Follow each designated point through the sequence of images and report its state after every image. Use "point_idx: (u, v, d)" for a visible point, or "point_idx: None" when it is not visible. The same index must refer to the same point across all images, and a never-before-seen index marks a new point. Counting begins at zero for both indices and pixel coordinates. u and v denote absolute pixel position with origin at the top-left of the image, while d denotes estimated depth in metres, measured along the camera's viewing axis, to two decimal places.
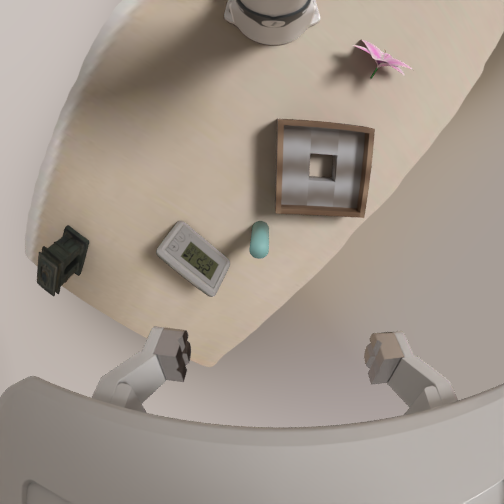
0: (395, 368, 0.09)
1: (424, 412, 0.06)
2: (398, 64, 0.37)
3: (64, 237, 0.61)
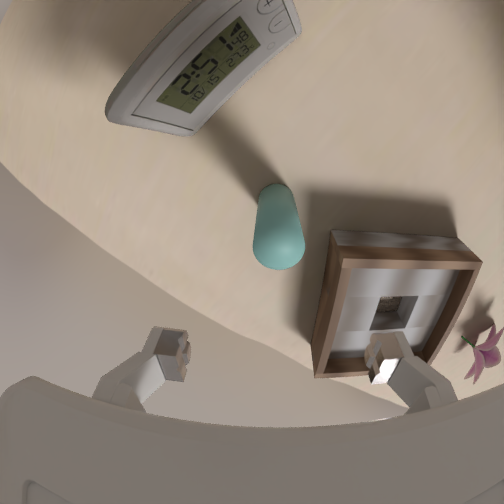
0: (396, 368, 0.09)
1: (424, 412, 0.06)
2: (475, 368, 0.33)
3: None
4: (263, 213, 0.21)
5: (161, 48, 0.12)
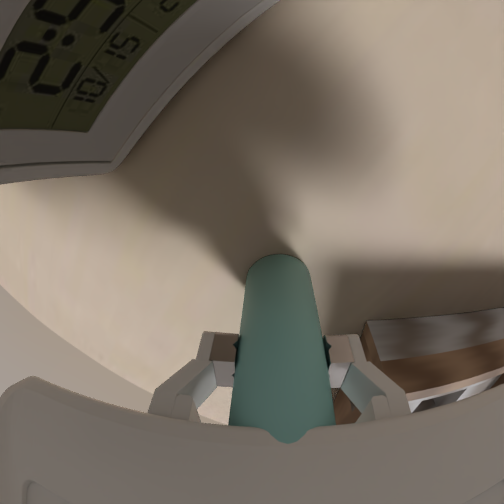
0: (347, 374, 0.10)
1: (424, 412, 0.06)
2: None
3: None
4: (249, 371, 0.09)
5: None
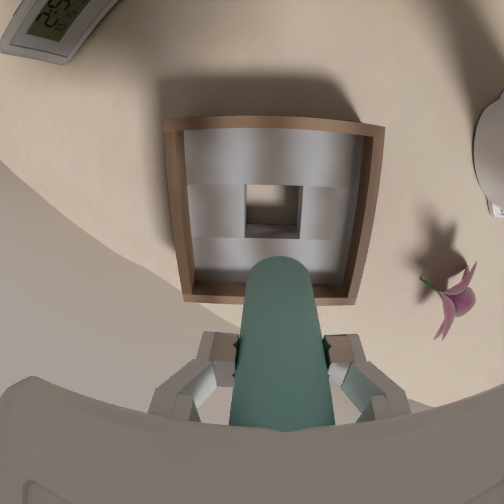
0: (346, 373, 0.10)
1: (424, 412, 0.06)
2: None
3: None
4: (250, 372, 0.09)
5: (26, 0, 0.08)
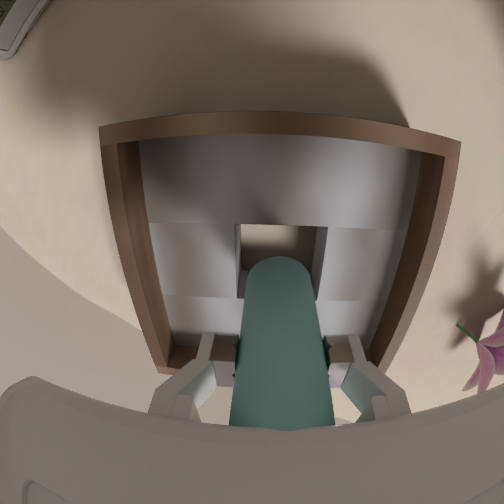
0: (346, 373, 0.10)
1: (424, 412, 0.06)
2: (480, 375, 0.20)
3: None
4: (250, 373, 0.09)
5: None
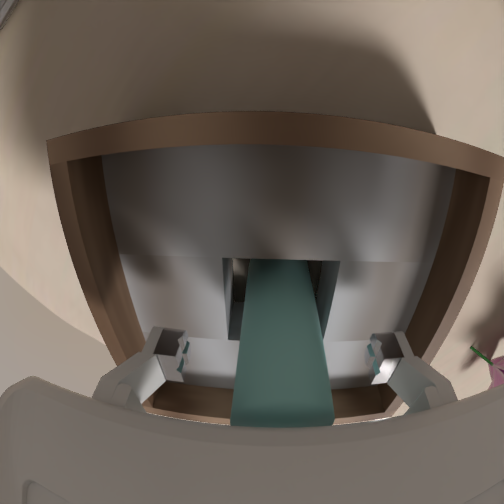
0: (395, 368, 0.09)
1: (424, 412, 0.06)
2: None
3: None
4: (253, 341, 0.10)
5: None
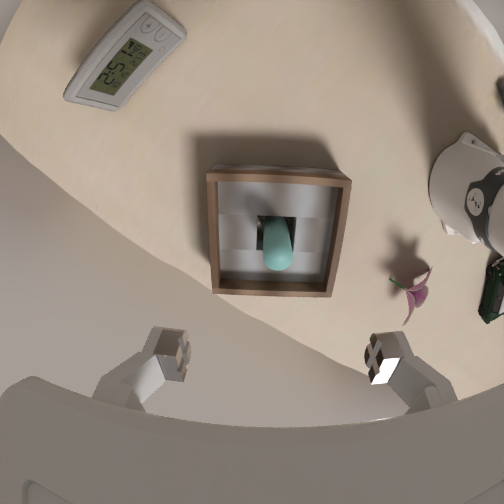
0: (395, 368, 0.09)
1: (424, 412, 0.06)
2: None
3: None
4: (268, 236, 0.35)
5: (89, 61, 0.21)
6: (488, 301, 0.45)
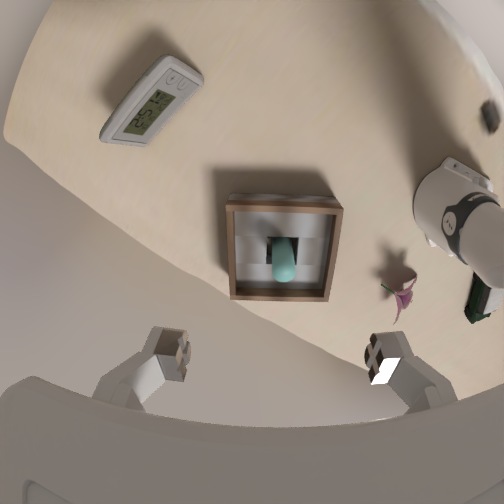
0: (395, 368, 0.09)
1: (424, 412, 0.06)
2: None
3: None
4: (276, 255, 0.44)
5: (122, 109, 0.30)
6: (474, 302, 0.52)
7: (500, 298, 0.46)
